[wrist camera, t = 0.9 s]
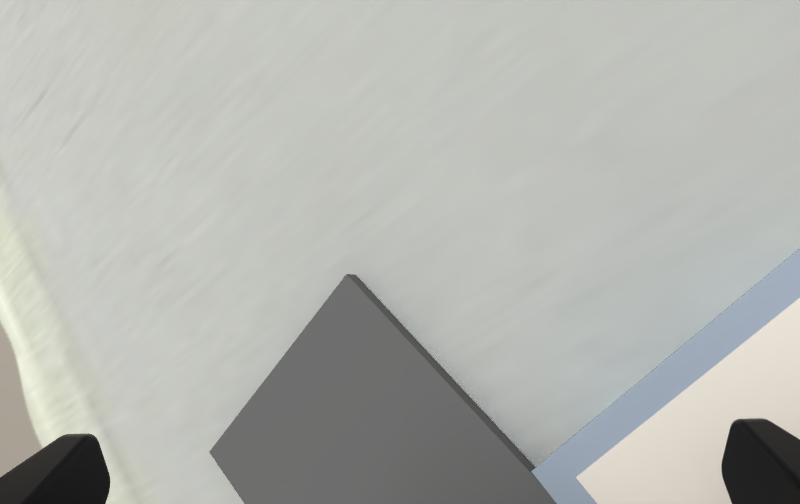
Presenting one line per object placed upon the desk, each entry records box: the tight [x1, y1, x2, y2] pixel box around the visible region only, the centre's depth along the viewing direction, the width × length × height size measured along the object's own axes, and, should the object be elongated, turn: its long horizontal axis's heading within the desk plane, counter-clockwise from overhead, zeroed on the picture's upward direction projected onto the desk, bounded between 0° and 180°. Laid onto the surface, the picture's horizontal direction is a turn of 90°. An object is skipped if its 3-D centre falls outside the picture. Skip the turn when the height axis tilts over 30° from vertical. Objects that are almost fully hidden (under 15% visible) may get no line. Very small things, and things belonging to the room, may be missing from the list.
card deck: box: [531, 249, 800, 504], centre depth 16 cm, size 6×9×4 cm, turn 132°
